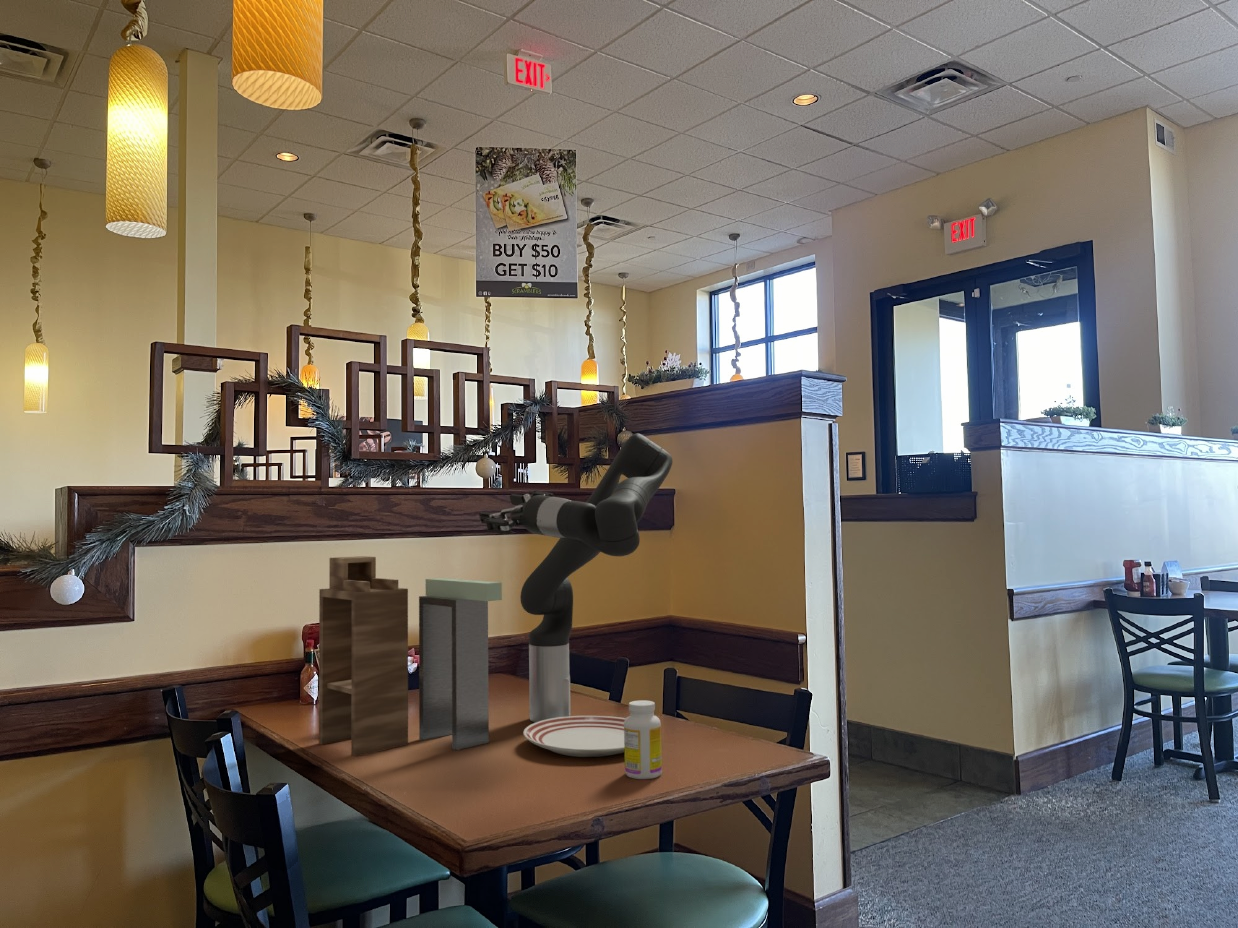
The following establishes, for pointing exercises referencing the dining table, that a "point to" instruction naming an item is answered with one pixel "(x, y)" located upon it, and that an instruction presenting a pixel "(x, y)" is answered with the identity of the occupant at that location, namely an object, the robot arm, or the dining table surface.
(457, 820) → the dining table surface
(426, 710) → the side stand
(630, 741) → the supplement bottle
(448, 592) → the bar
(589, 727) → the dinner plate
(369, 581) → the tunnel stand
